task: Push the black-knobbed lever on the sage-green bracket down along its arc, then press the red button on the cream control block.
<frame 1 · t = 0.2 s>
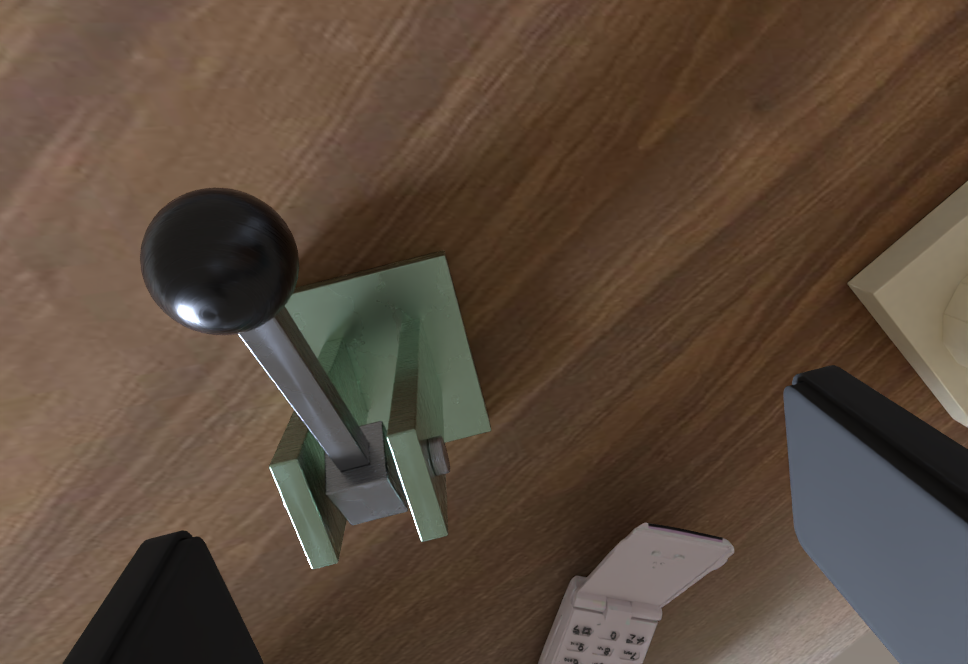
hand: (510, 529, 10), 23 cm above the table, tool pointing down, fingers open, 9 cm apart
bracket: (386, 360, 33), on the table
mobile phone: (584, 635, 41), on the table
lever: (308, 388, 19), point 14 cm above the table, hinge at 30.0°
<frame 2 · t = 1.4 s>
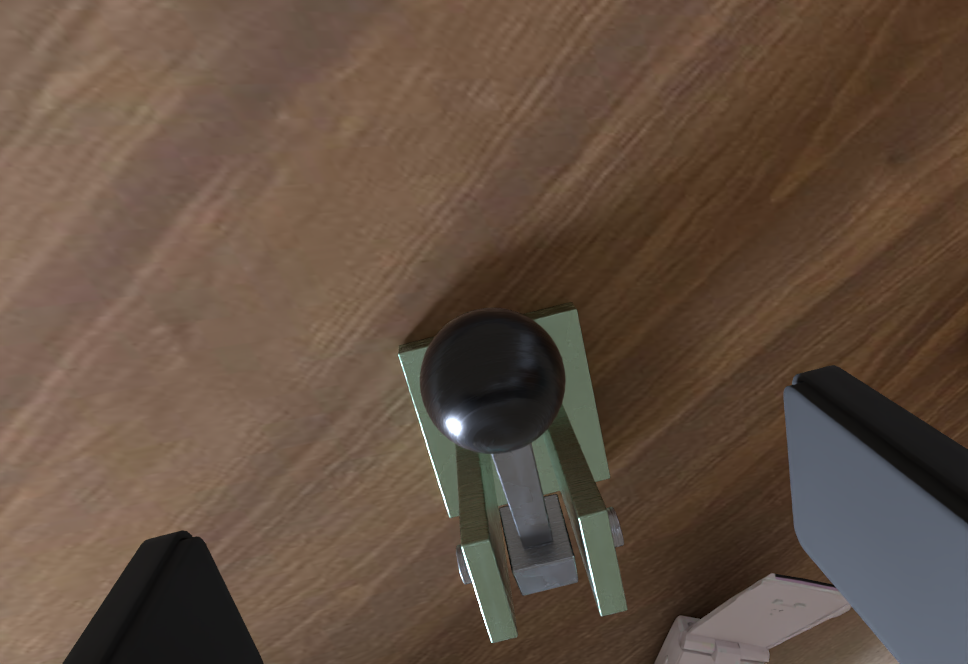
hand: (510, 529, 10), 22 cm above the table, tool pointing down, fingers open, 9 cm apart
bracket: (507, 408, 34), on the table
lever: (520, 479, 19), point 14 cm above the table, hinge at 30.0°
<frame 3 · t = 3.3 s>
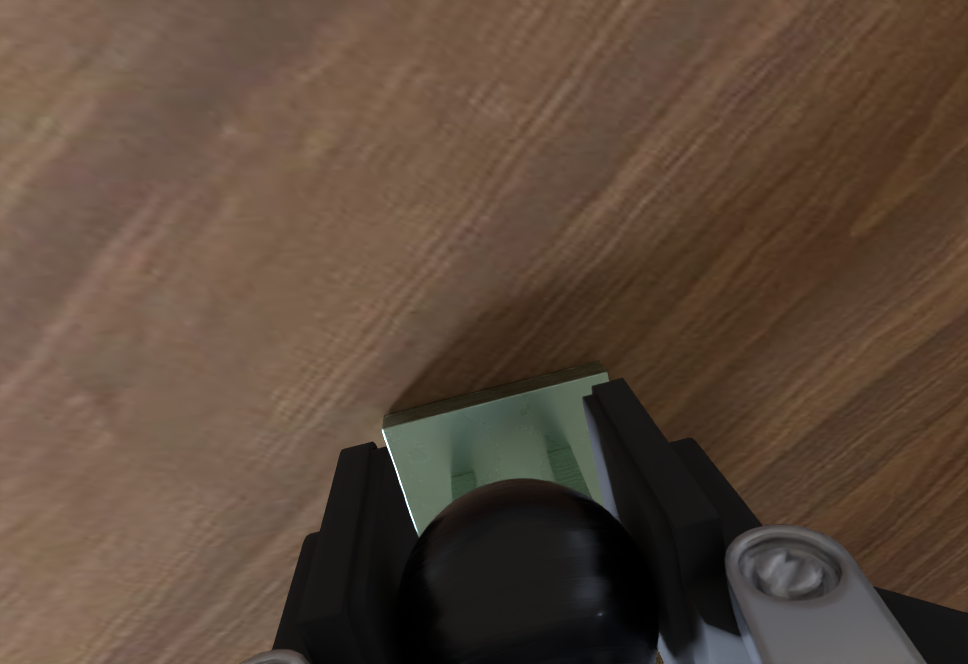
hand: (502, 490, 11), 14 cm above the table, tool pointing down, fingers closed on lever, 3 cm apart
bracket: (518, 489, 27), on the table
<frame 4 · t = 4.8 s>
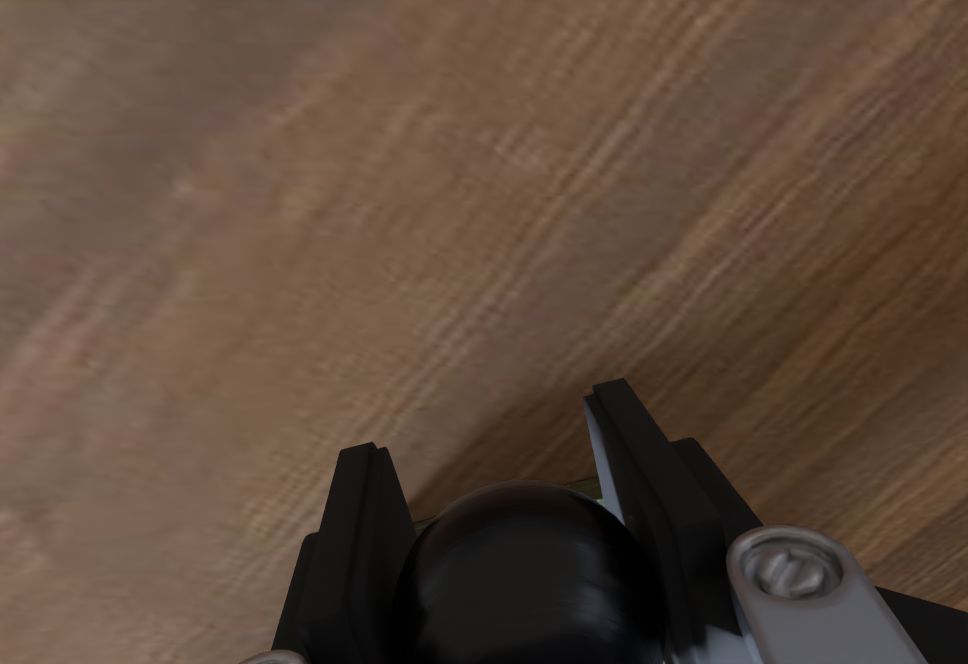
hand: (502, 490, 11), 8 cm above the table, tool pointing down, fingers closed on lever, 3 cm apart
bracket: (548, 612, 22), on the table
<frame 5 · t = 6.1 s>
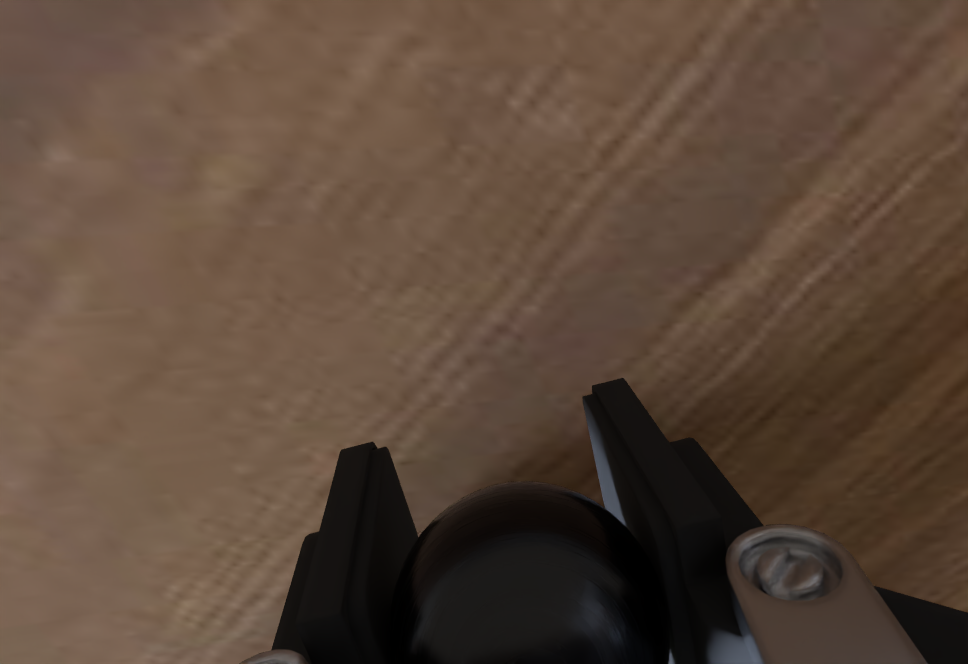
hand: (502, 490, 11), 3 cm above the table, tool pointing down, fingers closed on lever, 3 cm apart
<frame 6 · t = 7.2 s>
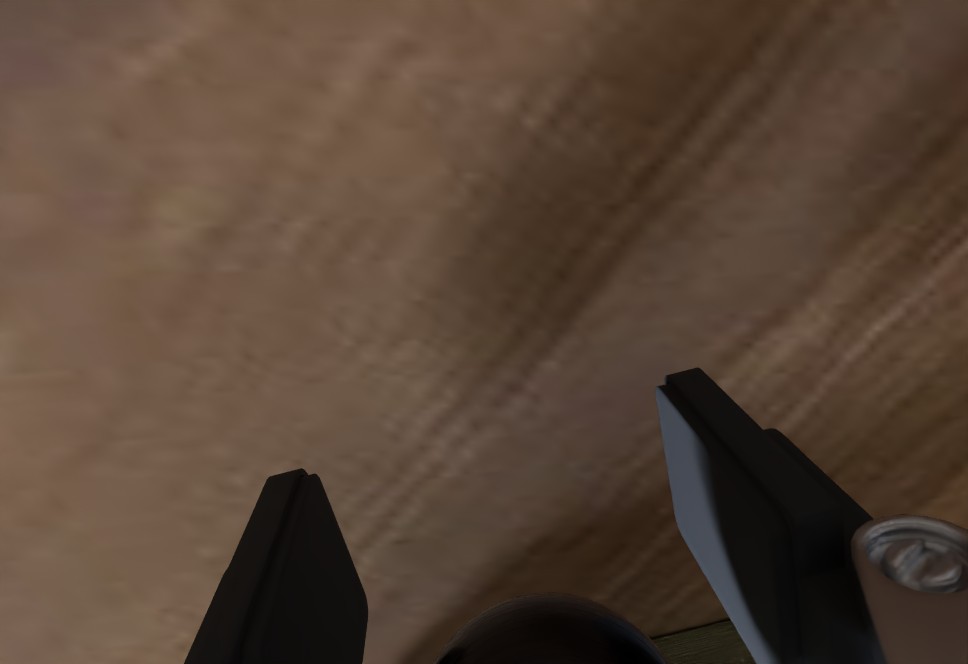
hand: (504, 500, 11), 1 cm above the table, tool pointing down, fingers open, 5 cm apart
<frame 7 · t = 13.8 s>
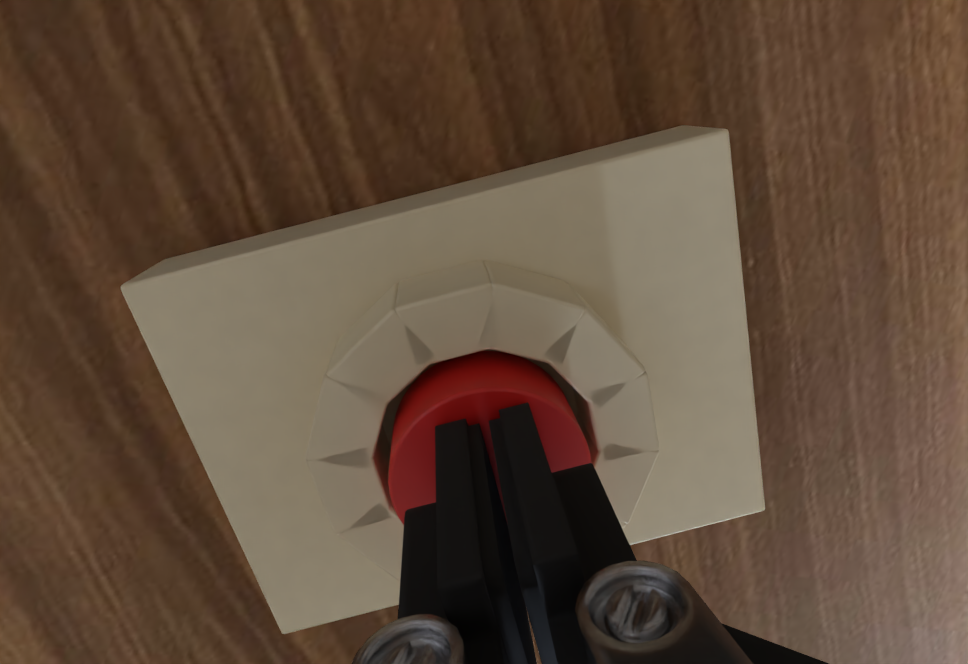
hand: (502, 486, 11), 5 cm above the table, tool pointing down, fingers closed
button: (487, 455, 12), point 4 cm above the table, slide at -0.4 cm, touching gripper
button block: (472, 371, 16), on the table
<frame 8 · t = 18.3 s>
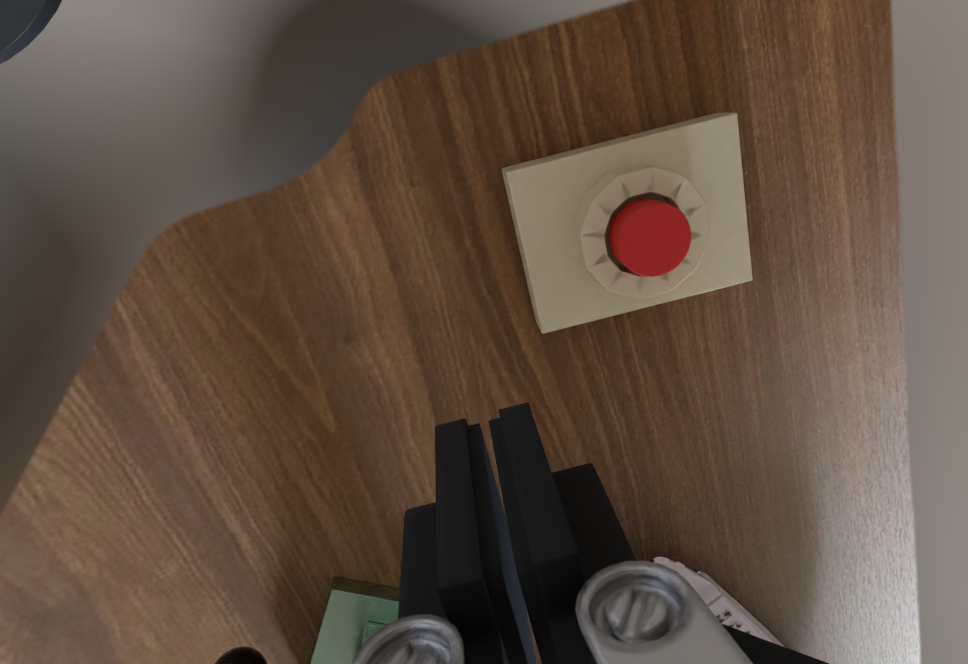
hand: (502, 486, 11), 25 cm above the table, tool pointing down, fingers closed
button: (649, 237, 31), point 4 cm above the table, slide at 0.1 cm
bracket: (390, 640, 44), on the table
mobile phone: (709, 622, 46), on the table, touching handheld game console
button block: (623, 221, 35), on the table
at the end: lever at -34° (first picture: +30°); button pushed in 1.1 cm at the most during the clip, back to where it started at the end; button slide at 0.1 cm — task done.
